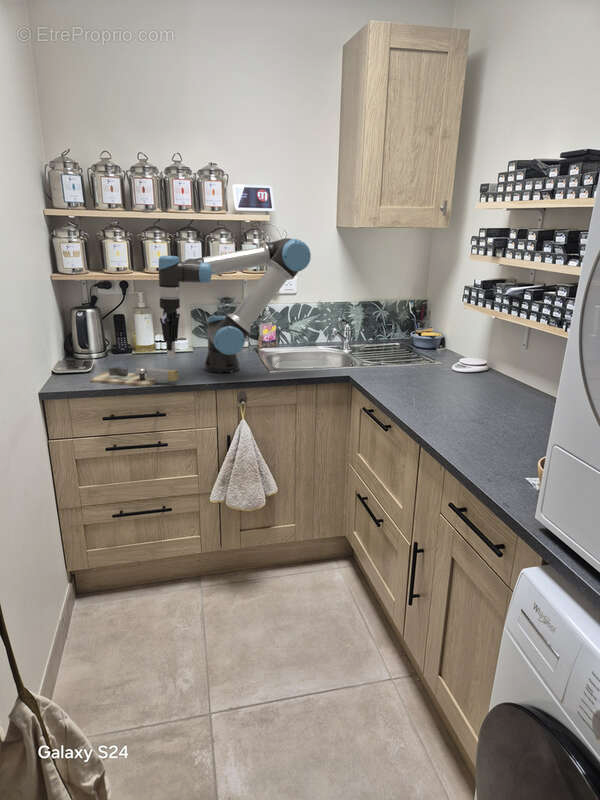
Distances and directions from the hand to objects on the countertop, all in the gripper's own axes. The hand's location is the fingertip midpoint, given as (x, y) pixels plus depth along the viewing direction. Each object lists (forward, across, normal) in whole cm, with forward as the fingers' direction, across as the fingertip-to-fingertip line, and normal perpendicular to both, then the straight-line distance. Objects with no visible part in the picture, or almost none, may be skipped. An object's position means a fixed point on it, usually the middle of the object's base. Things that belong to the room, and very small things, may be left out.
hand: (171, 357), depth 214 cm
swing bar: (+7, +7, -3) cm, 10 cm away
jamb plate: (+9, +7, -9) cm, 15 cm away
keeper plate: (+9, +7, -21) cm, 24 cm away
